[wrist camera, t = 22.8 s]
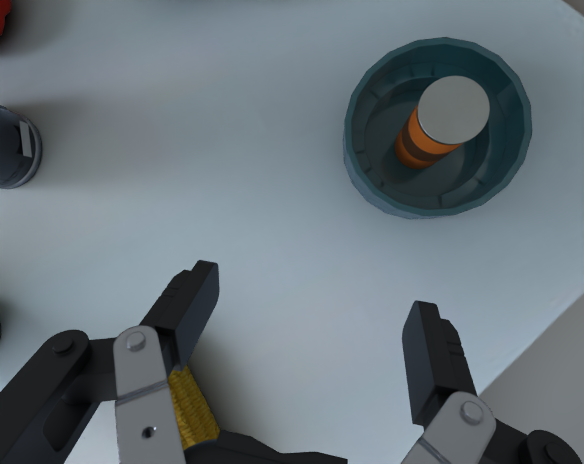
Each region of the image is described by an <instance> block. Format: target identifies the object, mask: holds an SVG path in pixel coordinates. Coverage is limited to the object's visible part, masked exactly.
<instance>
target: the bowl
mask: <svg viewBox="0 0 584 464" xmlns="http://www.w3.org/2000/svg"><path fill="white" fill-rule="evenodd" d="M448 76H463V77H467V78H469V79H471V80H473V81H475V82H476V83H478V84H479V85H480V86H481V87H482V88H483V90H484V91H485V93H486V94H487V97H488V100H489V106H490V112H489V117H488V120H487V122H486V125H485V126H484V128H483V129H482V130H481V132H480V133H479V134H477V135H476V136H475V137H474V138H472V139H471V140H469V141H467V142H465V143H463V144H461V145H460V146H459V147H458V148H457V149H455V150H454V151H452V152H451V153H450V154H448V155H447V156H445V157H444V158H442V159H440V160H439V161H437V162H436V163H434V164H433V165H431V166H430V167H427V168H424V169H412V168H409V167H407V166H405V165H404V164H402V163H401V162H400V160H399V159H398V157H397V156H396V153H395V140H396V138H397V136H398V134H399V132H400V131H401V129H402V128H403V126H404V124H405V122H406V120H407V119H408V117H409V116H410V114H411V113H412V111H413V110H414V108H415V107H416V106H417V104H418V102H419V100H420V97H421V96H422V94H423V93H424V91H425V90H426V89H427V88H428V87H429V86H430V85H431V84H432V83H434V82H435V81H437V80H439V79H441V78H444V77H448ZM531 136H532V121H531V105H530V102H529V99H528V97H527V95H526V92H525V90H524V88H523V85H522V83H521V81H520V78H519V77H518V76H517V74H516V73H515V72H514V71H513V70H512V69H511V68H510V67H509V66H508V65H507V64H506V62H505V61H504V60H503V59H502V58H501V57H500V56H498V55H496V54H495V53H493V52H491V51H489V50H487V49H485V48H484V47H482V46H480V45H478V44H476V43H474V42H469V41H464V40H458V39H453V38H448V37H442V38H433V39H424V40H417V41H414V42H411V43H409V44H407V45H404V46H402V47H400V48H398V49H395V50H393V51H391V52H389V53H387V54H386V55H385V56H384V57H383V58H382V59H380V60H379V61H378V62H377V63H376V64H374V65H373V66H372V67H371V68H370V69H369V70H368V71H367V72H366V73H365V75H364V76H363V78H362V79H361V81H360V82H359V84H358V86H357V87H356V89H355V90H354V92H353V93H352V95H351V99H350V103H349V106H348V110H347V114H346V117H345V122H344V133H343V155H344V164H345V166H346V169H347V172H348V174H349V177H350V179H351V182H352V184H353V185H354V186H355V188H356V189H357V190H358V191H359V192H360V194H361V195H362V196H363V197H364V198H365V200H366V201H367V202H369V203H370V204H372V205H374V206H375V207H377V208H378V209H380V210H382V211H383V212H385V213H387V214H390V215H394V216H398V217H402V218H406V219H410V220H411V219H430V218H439V217H445V216H451V215H456V214H459V213H462V212H464V211H467V210H470V209H472V208H475V207H478V206H481V205H483V204H484V203H486V202H487V201H488V200H490V199H491V198H492V197H494V196H495V195H496V194H498V193H499V192H500V191H501V190H503V189H504V188H505V187H506V186H508V184H509V183H510V181H511V180H512V178H513V177H514V175H515V174H516V173H517V171H518V170H519V168H520V167H521V165H522V164H523V162H524V160H525V157H526V153H527V150H528V146H529V143H530V139H531Z"/></svg>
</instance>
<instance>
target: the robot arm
mask: <svg viewBox="0 0 584 464" xmlns="http://www.w3.org/2000/svg"><path fill="white" fill-rule="evenodd" d="M41 151H42V147H41V140H40V136H39V133H38V131H37V129H36V128H35V126H34V125H33V124H32V122H31V121H30V120H28V119H27V118H26V117H24V116H22V115H20V114H18V113H15V112H12V111H8V110H7V109H6V107H4V106H1V105H0V188H1V189H12V188H16V187H18V186H21V185H22V184H24V183H25V182H27V181H28V180H29V179H30V178H31V177H32V176H33V174H34V173H35V171H36V169H37V167H38V165H39V162H40V159H41ZM218 297H219V271H218V264H217V263H214V262H209V261H203V260H199V261H197V263H196V264H195V266H194V267H193V269H192V270H191V271H188V270H183V271H182V272H180V273H179V274H177V275H176V276H174V277H173V279H172V280H171V281H170V283H169V284H168V286H167V288H165V290H164V291H163V292H162V294H161V296H160V297H159V298H158V299H157V301H156V302H155V303H154V305H153V306H152V308H151V309H150V310H149V312H148V313H147V315H146V316H145V317H144V319H143V320H142V321H141V323H140V324H139V325H138V326H134V327H131V328H129V329H127V330H125V331H123V332H122V333H121V334H120V335H119V336H118V337H116V338H108V339H95V340H89V338H88V336H87V334H86V333H85V332H83V331H80V330H67V331H63V332H60V333H58V334H56V335H54V336H52V337H51V338H49V339H48V340H47V341H46V342H45V343H44V344H43V345H42V346H41V347H40V348H39V349H38V351H37V352H36V353H35V354H34V355H33V356H32V357H31V358H30V359H29V361H28V362H27V363H26V364H25V365H24V366H23V367H22V368H21V370H20V371H19V372H18V373H17V374H16V375H15V376H14V377H13V379H12V380H11V381H10V382H9V383H8V384H7V385H6V386H5V387H4V389H3V390H2V391H1V392H0V464H64V462H65V461H66V459H67V457H68V456H69V454H70V452H71V451H72V449H73V447H74V446H75V444H76V442H77V441H78V439H79V438H80V436H81V434H82V433H83V431H84V429H85V428H86V426H87V424H88V423H89V421H90V419H91V418H92V416H93V415H94V413H95V411H96V410H97V408H98V406H99V405H100V403H101V402H102V401H111V400H116V401H115V417H116V430H117V443H118V455H119V464H347V463H348V459H345V458H341V457H336V456H332V455H328V454H324V453H319V452H300V453H279V452H277V451H276V450H274V449H272V448H270V447H269V446H267V445H265V444H263V443H261V442H260V441H258V440H256V439H254V438H253V437H251V436H247V435H242V434H238V433H234V432H230V431H225V430H221V429H220V432H219V435H218V438H217V439H211V440H206V441H202V442H200V443H197V444H194V445H192V446H190V447H188V448H187V449H185V450H183V447H182V442H181V438H180V433H179V429H178V424H177V420H176V415H175V411H174V406H173V402H172V397H171V392H170V388H169V383H168V378H169V376H170V374H171V372H172V370H175V371H180V372H182V371H183V369H184V367H185V365H186V363H187V361H188V359H189V357H190V355H191V353H192V351H193V349H194V347H195V345H196V343H197V341H198V339H199V337H200V335H201V333H202V331H203V330H204V328H205V326H206V324H207V322H208V320H209V318H210V316H211V314H212V312H213V310H214V308H215V306H216V304H217V301H218ZM402 344H403V352H404V360H405V368H406V376H407V383H408V391H409V399H410V407H411V415H412V423H413V424H416V425H421V426H423V428H424V433H423V434H422V436H421V437H420V438H419V439H418V440H417V441H416V443H415V444H414V445H413V447H412V448H411V450H410V451H409V452H408V454H407V455H406V457H405V458H404V459H403V461H402V462H401V464H582V462H581V460H580V458H579V457H578V455H577V454H576V453H575V451H574V450H573V449H572V448H571V447H570V446H569V445H568V444H567V443H566V442H565V441H564V440H562V439H561V438H559V437H558V436H556V435H554V434H552V433H550V432H547V431H544V430H534V431H532V432H531V433H530V434H529V435H526V434H524V433H522V432H520V431H518V430H516V429H514V428H512V427H510V426H508V425H506V424H504V423H502V422H501V421H499V420H498V419H496V418H495V417H494V415H493V413H492V411H491V410H490V408H489V407H488V406H487V405H486V404H485V403H484V402H483V401H482V400H481V399H479V398H478V396H477V393H476V390H475V387H474V384H473V380H472V377H471V374H470V371H469V367H468V364H467V361H466V358H465V357H464V351H463V348H462V346H461V341H460V338H459V335H458V332H457V330H456V329H455V328H454V326H453V325H452V324H451V323H450V321H449V320H446V319H441V318H440V314H439V311H438V307H437V305H436V304H434V303H428V302H423V301H417V300H416V301H414V303H413V305H412V308H411V310H410V313H409V315H408V318H407V320H406V322H405V325H404V328H403V333H402Z"/></svg>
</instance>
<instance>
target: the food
mask: <svg viewBox="0 0 584 464" xmlns="http://www.w3.org/2000/svg"><path fill="white" fill-rule="evenodd" d="M168 383H169V388H170V392H171V397H172V402H173V406H174V411H175V415H176V420H177V424H178V429H179V433H180V438H181V442H182V447H183V450H185V449H187V448H188V447H190V446H192V445H194V444H197V443H200V442H202V441H206V440H211V439H217V438H218V435H219V432H220V430H219V426H218V425H217V423H216V421H215V419H214V416H213V415H212V413H211V411H210V409H209V406H208V405H207V402H206V399H205V398H204V397H203V395H202V392H201V391H200V388H199V387H198V386H197V384H196V381H195V380H194V377H193V376H192V374H191V372H190V370H189V368H188V366H187V364H186V365H185V367H184V369H183V371H182V372H180V371H175V370H172V372H171V374H170V376H169V378H168Z"/></svg>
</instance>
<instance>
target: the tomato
mask: <svg viewBox="0 0 584 464" xmlns="http://www.w3.org/2000/svg"><path fill="white" fill-rule="evenodd" d="M10 11H11V0H0V36H1V35H2V32H3V28H4V24H5V20H4V18H5V16H6V15H7V14H8V13H9V12H10Z"/></svg>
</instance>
